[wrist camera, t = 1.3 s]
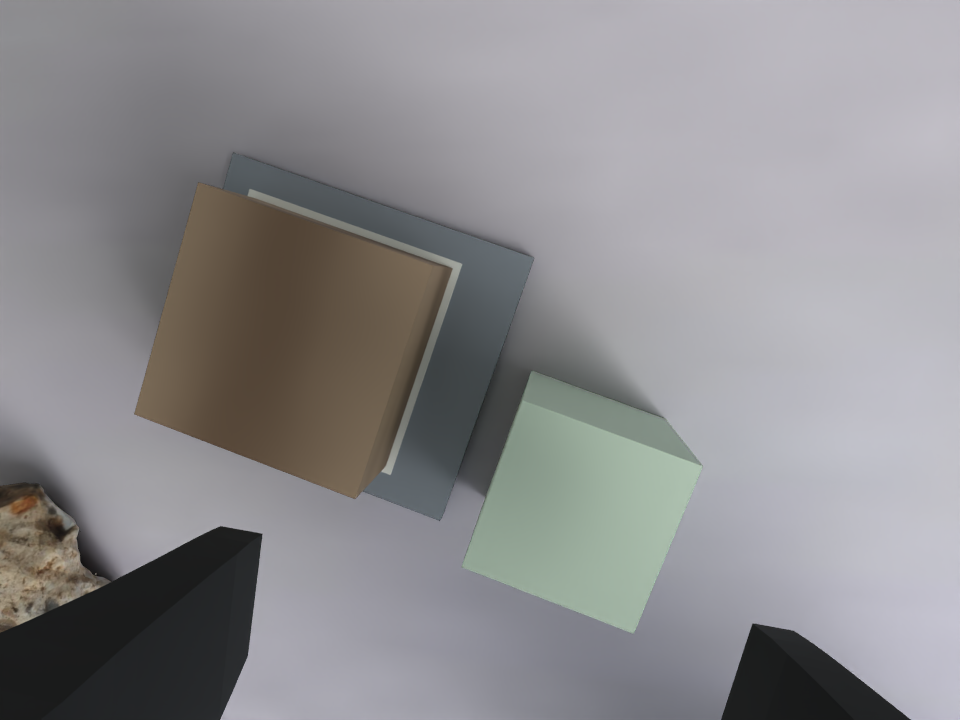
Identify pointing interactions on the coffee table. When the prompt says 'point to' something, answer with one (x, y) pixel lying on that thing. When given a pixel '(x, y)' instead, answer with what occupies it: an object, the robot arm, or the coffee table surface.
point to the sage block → (583, 502)
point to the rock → (37, 556)
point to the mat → (455, 335)
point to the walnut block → (290, 340)
